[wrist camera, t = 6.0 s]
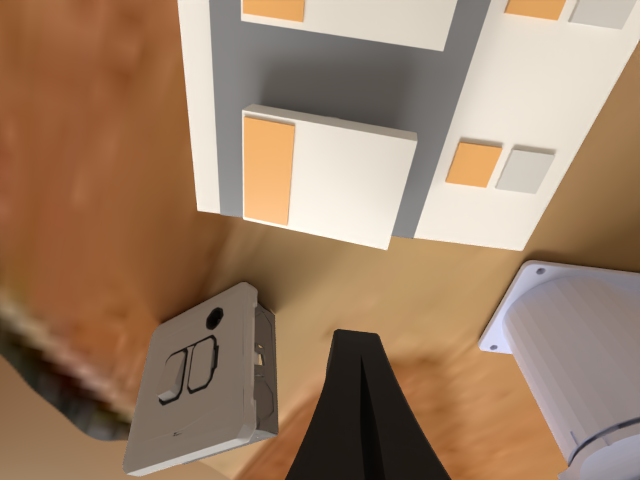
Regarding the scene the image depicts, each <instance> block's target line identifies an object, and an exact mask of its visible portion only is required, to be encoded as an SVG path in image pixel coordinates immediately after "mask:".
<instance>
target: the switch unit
mask: <svg viewBox="0 0 640 480" xmlns="http://www.w3.org/2000/svg"><path fill="white" fill-rule="evenodd" d="M178 9H179V19H180V30H181V40H182V51H183V62H184V72H185V83H186V93H187V104H188V114H189V125H190V135H191V146H192V156H193V167H194V177H195V188H196V198H197V209H198V211H204V212H212V213H220V215H227V216H235V217H243V161H242V110H243V109H244V108H246V107H248V106H249V105H251V104H257V105H263V106H268V107H274V108H280V109H285V110H291V111H297V112H302V113H308V114H314V115H319V116H325V117H331V118H336V119H342V120H348V121H353V122H359V123H365V124H370V125H376V126H381V127H387V128H393V129H398V130H404V131H410V132H415V133H417V140H418V142H417V145H416V149H415V153H414V156H413V160H412V163H411V167H410V170H409V174H408V177H407V181H406V185H405V188H404V192H403V195H402V199H401V202H400V206H399V209H398V213H397V217H396V220H395V224H394V227H393V231H392V234H391V236H396V237H404V238H412V239H413V238H422V239H430V240H438V241H446V242H454V243H462V244H470V245H478V246H486V247H494V248H502V249H510V250H518V251H522V250H523V248H524V247H525V245H526V243H527V241H528V239H529V238H530V236H531V234H532V232H533V230H534V229H535V227H536V225H537V223H538V221H539V220H540V218H541V216H542V214H543V212H544V211H545V209H546V207H547V205H548V204H549V202H550V200H551V198H552V196H553V195H554V193H555V191H556V189H557V187H558V186H559V184H560V182H561V180H562V178H563V177H564V175H565V173H566V171H567V169H568V168H569V166H570V164H571V162H572V160H573V159H574V157H575V155H576V153H577V151H578V150H579V148H580V146H581V144H582V142H583V141H584V139H585V137H586V135H587V133H588V132H589V130H590V128H591V126H592V124H593V123H594V121H595V119H596V117H597V115H598V114H599V112H600V110H601V108H602V106H603V105H604V103H605V101H606V99H607V97H608V96H609V94H610V92H611V90H612V88H613V87H614V85H615V83H616V81H617V79H618V78H619V76H620V74H621V72H622V70H623V69H624V67H625V65H626V63H627V61H628V60H629V58H630V56H631V54H632V52H633V51H634V49H635V47H636V45H637V43H638V42H639V40H640V0H457V4H456V7H455V11H454V15H453V18H452V22H451V25H450V29H449V32H448V36H447V39H446V43H445V47H444V50H443V51H437V50H431V49H424V48H417V47H411V46H404V45H398V44H391V43H384V42H378V41H371V40H365V39H358V38H351V37H345V36H338V35H332V34H325V33H318V32H312V31H305V30H299V29H292V28H285V27H279V26H272V25H266V24H259V23H252V22H246V21H241V0H178Z"/></svg>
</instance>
